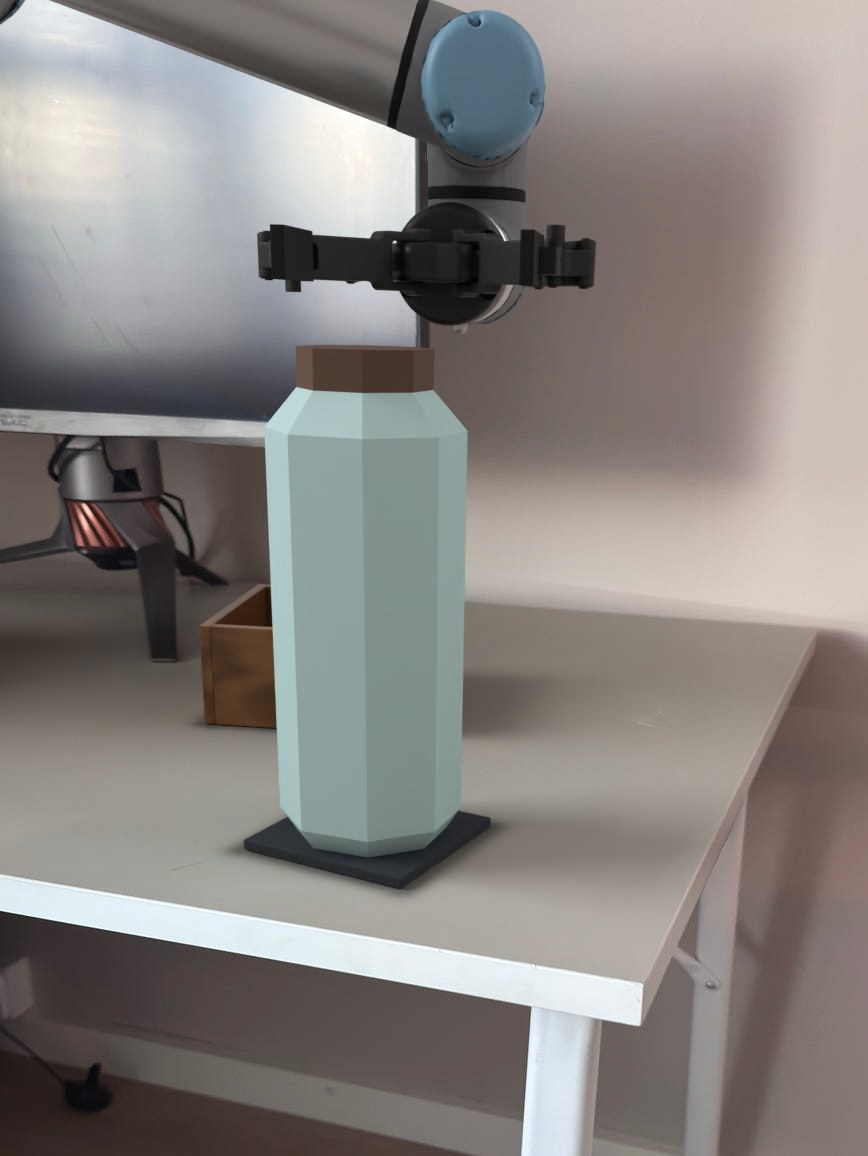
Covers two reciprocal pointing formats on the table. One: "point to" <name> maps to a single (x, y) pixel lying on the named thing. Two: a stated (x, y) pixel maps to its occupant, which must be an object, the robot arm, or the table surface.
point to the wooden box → (240, 662)
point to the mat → (379, 869)
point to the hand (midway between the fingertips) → (400, 254)
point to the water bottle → (367, 598)
